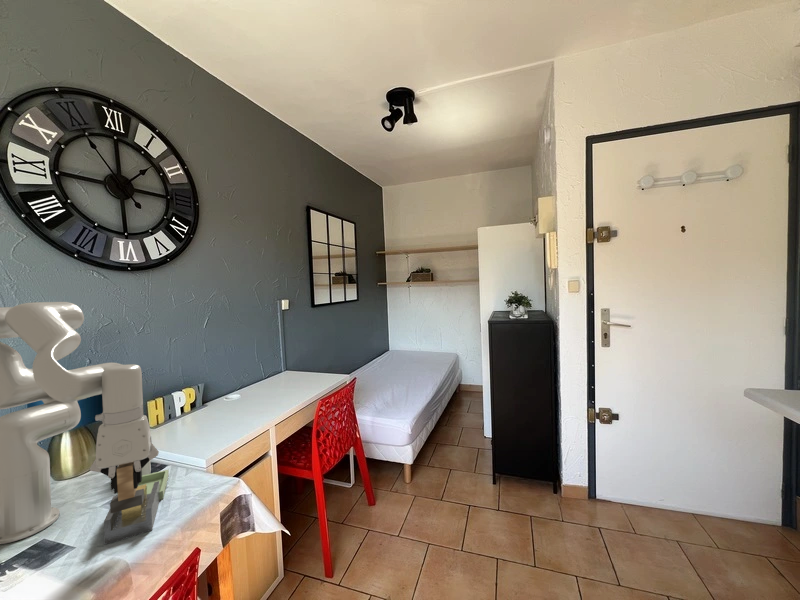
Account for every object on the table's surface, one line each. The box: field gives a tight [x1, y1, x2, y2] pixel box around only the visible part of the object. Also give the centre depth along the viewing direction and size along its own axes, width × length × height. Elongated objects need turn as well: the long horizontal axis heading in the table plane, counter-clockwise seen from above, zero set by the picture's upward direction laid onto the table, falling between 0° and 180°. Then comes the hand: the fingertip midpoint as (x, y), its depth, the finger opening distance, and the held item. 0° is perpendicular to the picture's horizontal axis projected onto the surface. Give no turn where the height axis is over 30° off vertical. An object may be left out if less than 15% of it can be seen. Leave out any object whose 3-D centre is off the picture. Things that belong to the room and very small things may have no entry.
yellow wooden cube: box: [122, 501, 144, 520], centre depth 86 cm, size 4×4×4 cm
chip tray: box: [138, 469, 170, 501], centre depth 100 cm, size 11×14×2 cm
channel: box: [103, 481, 161, 545], centre depth 87 cm, size 9×14×6 cm
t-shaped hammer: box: [109, 462, 144, 513], centre depth 79 cm, size 6×3×10 cm, turn 121°
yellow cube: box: [136, 484, 147, 505], centre depth 90 cm, size 4×4×4 cm
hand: (127, 487), depth 79 cm, fingers closed on t-shaped hammer, 3 cm apart
